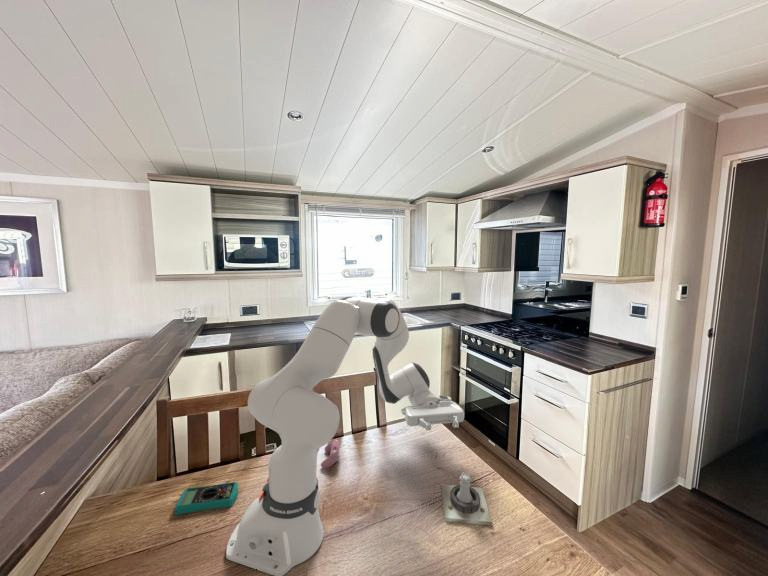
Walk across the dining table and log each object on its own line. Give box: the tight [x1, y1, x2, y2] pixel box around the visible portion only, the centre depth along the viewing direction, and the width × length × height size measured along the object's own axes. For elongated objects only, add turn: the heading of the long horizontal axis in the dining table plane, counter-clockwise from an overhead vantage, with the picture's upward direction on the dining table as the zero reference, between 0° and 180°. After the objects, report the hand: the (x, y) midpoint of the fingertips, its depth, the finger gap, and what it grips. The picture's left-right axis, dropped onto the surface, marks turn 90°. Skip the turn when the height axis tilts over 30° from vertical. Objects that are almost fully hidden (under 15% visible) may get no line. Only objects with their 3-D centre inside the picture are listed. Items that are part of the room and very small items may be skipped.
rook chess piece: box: [456, 472, 472, 504], centre depth 87 cm, size 4×4×8 cm
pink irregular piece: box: [320, 439, 342, 469], centre depth 106 cm, size 10×5×7 cm, turn 3°
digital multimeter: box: [174, 481, 239, 516], centre depth 88 cm, size 7×15×3 cm, turn 103°
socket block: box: [440, 484, 493, 526], centre depth 88 cm, size 12×12×3 cm
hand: (443, 426), depth 99 cm, fingers open, 8 cm apart
